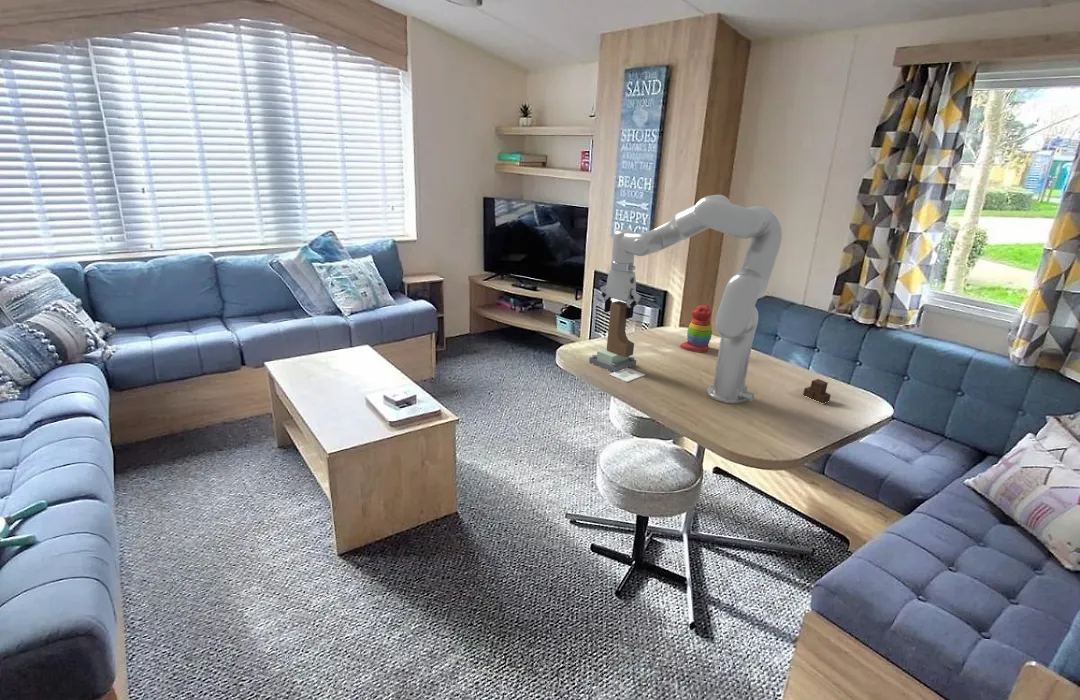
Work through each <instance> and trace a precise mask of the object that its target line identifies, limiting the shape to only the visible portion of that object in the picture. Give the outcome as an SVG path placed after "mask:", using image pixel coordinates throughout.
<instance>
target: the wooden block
mask: <svg viewBox="0 0 1080 700" xmlns="http://www.w3.org/2000/svg"><path fill="white" fill-rule="evenodd" d="M627 307H628V306H627V304H626V302H625V301H621V300H618V301H612V303H611V308H610V312H609V318H608V319H609V320H608V331H607V341H606V348H607V351H610V352H613V353H615V354H618V355H621V356H623V357H628V356H630V357H632V356H633V355H634V348H635V343H634V342H633V341H631V340H629V338H628V337H627V334H626V332H627V331H626V327H627V320H628V319H626V318H625V317H626V308H627Z"/></svg>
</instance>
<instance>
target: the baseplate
mask: <svg viewBox="0 0 1080 700" xmlns="http://www.w3.org/2000/svg"><path fill="white" fill-rule="evenodd" d="M596 352H597V353H596V354H592V355H591V356H590V357H589V361H588V362H590V363H589V364H591V363H593V364H592V365H594V364H595V365H594V366H596V365H598V366H597V367H599V366H600V368H601V367H603V368H602V369H604V368H605V369H604V370H606V369H608V370H607V371H609V370H610V371H609V372H611V371H613V372H616V371H619V370H622V369H625V368H628V367H630V368H632V367H635V366H636V365H637V360H636V359H635V357H633V356H628V357H623V356H621V355H618V354H615V353H613V352H610V351H607V347H606V348H603V349H600V350H597V351H596ZM631 366H632V367H631ZM613 372H612V373H613Z"/></svg>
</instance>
